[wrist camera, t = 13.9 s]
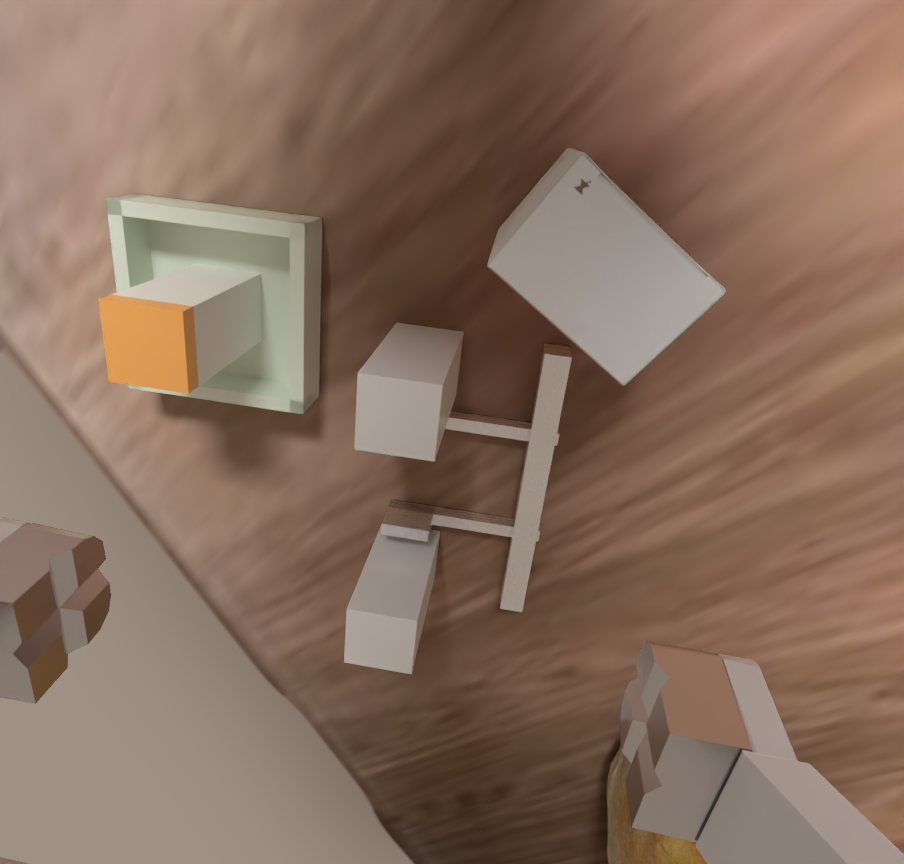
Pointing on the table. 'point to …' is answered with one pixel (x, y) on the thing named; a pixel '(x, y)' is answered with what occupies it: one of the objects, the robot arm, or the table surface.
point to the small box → (600, 268)
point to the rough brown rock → (634, 850)
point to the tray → (246, 249)
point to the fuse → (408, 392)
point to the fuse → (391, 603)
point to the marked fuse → (181, 327)
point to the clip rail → (533, 484)
